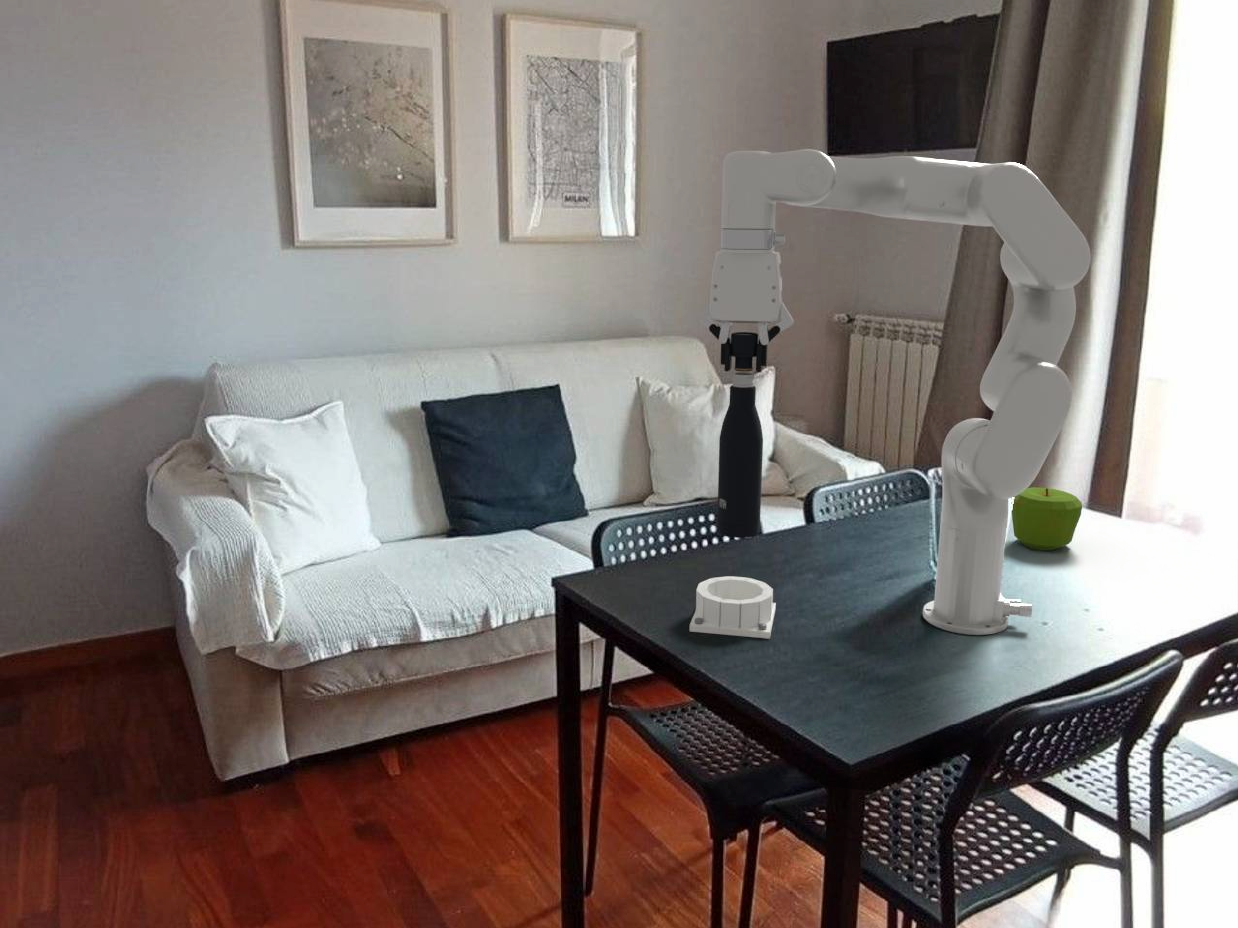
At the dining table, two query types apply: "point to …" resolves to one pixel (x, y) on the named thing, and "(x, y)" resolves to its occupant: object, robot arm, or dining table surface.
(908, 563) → the dining table surface
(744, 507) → the dark blue bottle
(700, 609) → the flange socket
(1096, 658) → the dining table surface
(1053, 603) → the dining table surface
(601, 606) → the dining table surface
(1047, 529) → the apple
